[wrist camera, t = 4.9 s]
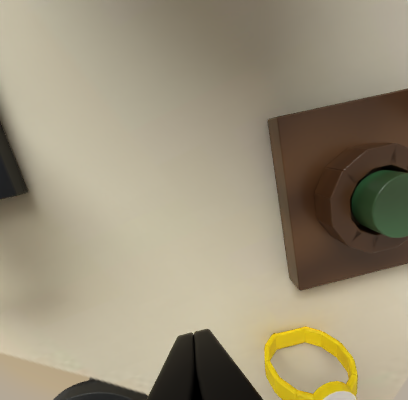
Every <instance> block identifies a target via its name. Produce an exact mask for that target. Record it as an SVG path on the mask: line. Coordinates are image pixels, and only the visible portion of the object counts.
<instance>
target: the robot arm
mask: <svg viewBox="0 0 408 400" xmlns="http://www.w3.org/2000/svg"><path fill="white" fill-rule="evenodd" d="M147 400H263V399H262V397H261V396H260V395H259V393H258V392H257V391H256V390H255V388H254V387H253V386H252V384H251V383H250V382H249V380H248V379H247V378H246V377H245V375H244V374H243V373H242V371H241V370H240V369H239V367H238V366H237V365H236V364H235V362H234V361H233V360H232V358H231V357H230V356H229V354H228V353H227V352H226V350H225V349H224V348H223V347H222V345H221V344H220V343H219V341H218V340H217V339H216V337H215V336H214V335H213V334H212V332H211V331H210V330H209V329H204V330H200V331H196V332H195V333H194V334H193V333H188V334H184V335H180V336H178V337H177V339H176V341H175V343H174V345H173V347H172V349H171V351H170V353H169V355H168V357H167V359H166V361H165V363H164V365H163V368H162V370H161V372H160V374H159V376H158V378H157V380H156V382H155V384H154V386H153V388H152V390H151V392H150V394H149V396H148V398H147Z"/></svg>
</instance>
